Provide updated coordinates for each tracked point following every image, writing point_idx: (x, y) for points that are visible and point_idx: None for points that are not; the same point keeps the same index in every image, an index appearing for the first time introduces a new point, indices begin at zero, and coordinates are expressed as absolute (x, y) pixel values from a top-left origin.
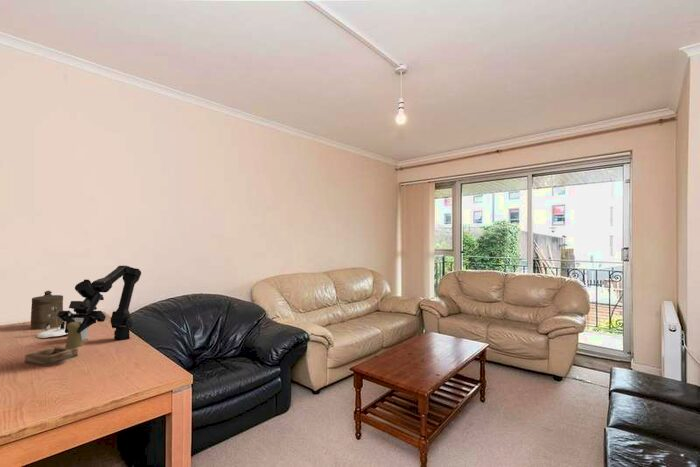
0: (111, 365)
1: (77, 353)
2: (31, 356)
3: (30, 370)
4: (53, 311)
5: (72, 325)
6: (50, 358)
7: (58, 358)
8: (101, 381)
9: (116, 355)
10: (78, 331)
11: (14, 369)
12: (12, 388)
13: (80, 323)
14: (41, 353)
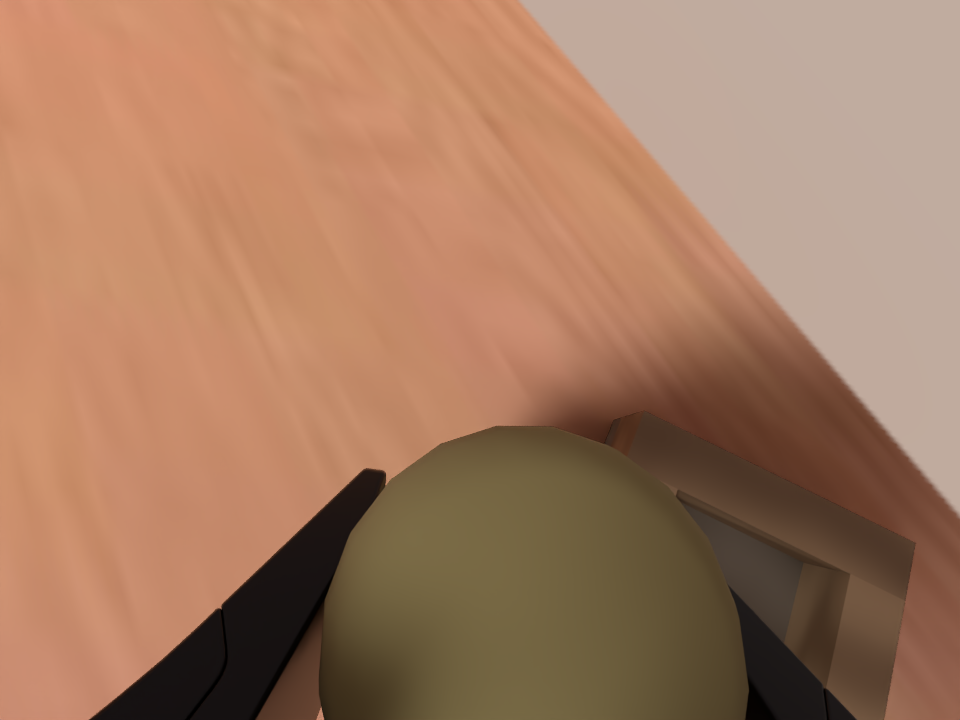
0: (67, 346)
1: None
2: (829, 503)
3: (667, 348)
4: None
5: (490, 438)
6: (625, 442)
7: None
8: (52, 52)
9: (97, 653)
10: (355, 480)
11: (799, 390)
12: (550, 74)
13: (327, 689)
14: (826, 623)
